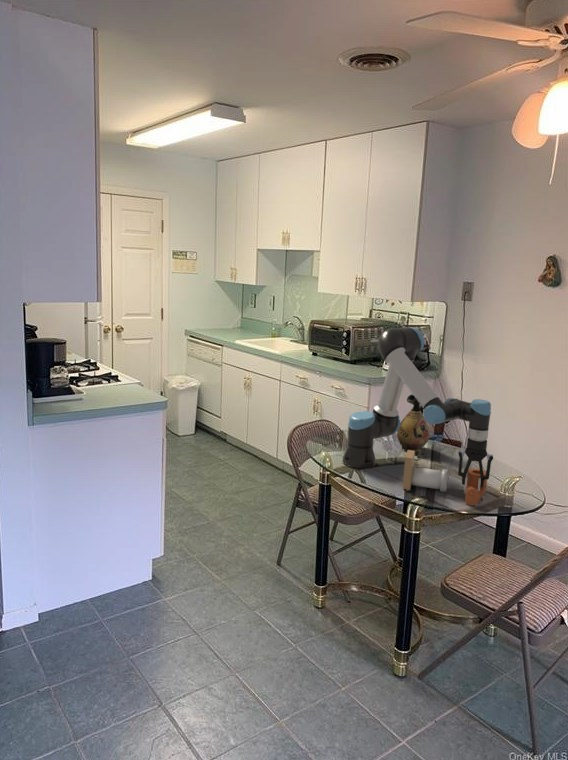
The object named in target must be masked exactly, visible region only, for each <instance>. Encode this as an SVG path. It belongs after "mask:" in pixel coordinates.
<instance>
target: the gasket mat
mask: <svg viewBox="0 0 568 760" xmlns="http://www.w3.org/2000/svg"><path fill="white" fill-rule="evenodd" d="M446 496H448V497H454V498H455V497H456V498H461V499H462V498H464V499H465V497H466V494H464V488H463V489H462V488H461V489H460V488H454V487H449V486H447V488H446ZM480 501H482V502H483V501H484V495H483V496H482V498H481V499H480Z"/></svg>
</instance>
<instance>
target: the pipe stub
mask: <svg viewBox="0 0 568 760" xmlns="http://www.w3.org/2000/svg"><path fill="white" fill-rule="evenodd" d="M415 453H416V452H415V451H412V450H408V451H406V455H405V458H404V468H403V469H404V471H403V482H402V490H403V489H406V490H405V491H409V490H410V491H411V487H412V486H415V487H422V488H428V489H434V490H435V489H436V490H439V492H441V493H447V487H448V478H449V476H448V475H449V469H445V468H442V469H441V470H438V469H432V468H425V467H416V466H414V465H415V455H416V454H415Z"/></svg>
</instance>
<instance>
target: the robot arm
mask: <svg viewBox="0 0 568 760" xmlns="http://www.w3.org/2000/svg"><path fill="white" fill-rule="evenodd" d="M377 345H378V346H377V347H378V351H379V354H380V355H381V356H380V357H382V359H383V360H384V362H385V363H386V364H389V365H388V367H387V371H386V375H385V378H384V382H383V385H382V390H381V393H380V396H379V400H378V403H376V404H375V405H374V407H373V410H372V411H368V410H367V411H366V410H363V411H361V410H360V411H356V412H354V413H351V414H350V416H349V419H348V424H347V425H348V426H347V444H346V448H345V451H344V453H343V456H342V463H343V462H344V463H346V464H347V465H350V466H352V467H351V468H353V467H356V468H355V469H370V468H373V467H375V465H376V462H377V461H376V460H377V459H376V455H375V451H374V440H377V439H379V438H380V439H381V438H385V437H389V436H392V435H395V434H397V432H398V429H399V427H400V423H401V419H400V415H399V411H398V409H397V407H398V404H399V401H400V397H401V395H402V391H403V387H404V385H405V386H406V387H407V389H408V390H409V391H410V392H411V393H412V394H411V395H414V396H415V398H416V399H417V400H418V402H419V403H420V406H422V407H423V408H424V410H423V416H424V419H425V420H426V422H427V424H430V425H439V424H442V423H445V422H452V421H455V420H461V421H465V422H468V432H467V437H468V438H467V441H466V447H465V449H464V450H459V451H458V458H459V459H458V472H457V475H458V476H459V477H462V479H461V485H463V490H464V494H466V487H467V472H468V469H470V467H471V464H472V462H476V463H477V462H478V467H479V468H478V469H480V476H481V478H479V480H478V491H480V487H482V488H483V484H484V480H485V479H487V481H488V480H489V479H490V474H491V473H490V472H491V468H492V467H491V465H492V461H493V460H494V455H493V454H490V453H488V451H487V447H488V438H489V427H490V420H491V415H492V414H491V413H492V412H491V411H492V404H491V402H490V401H488V400H487V399H480V398H479V399H473V400H471V402H468V401H465V400H462V399H459V398H451V397H450V398H446V400H444V401H442V399H441V398H440V397H439V396H438V394H437V393H436V392H435V390H434V389H433V388H432V387H431V385H430V384H429V382H428V381H427V380H426V378H425V377H424V376H423V375H422V374H421V372H420V371H419V370H418V368H417V367H416V366H415V365H414V363H413V362H414V361H415V358H416V355H417V354H418V353H420V352H421V351H422V350H423V349H424V346H425V337H424V336H423V333H422V331H420V330H419V329H418V328H417V327H411V326H405V327H393V328H387V329H386V330H384V331H383V332H382V333H381V334H380V335H379V338H378V341H377ZM464 456H466V457H467V458H468V459H467V462H466V464H465V467H464V470H463V469H462V468H463V457H464ZM485 458H486V460H487V461H486V462H487V463H486V469H485V471H486V475H484V474H483V470H484V468H483V460H484V459H485ZM344 463H343V464H344ZM347 465H346V466H347ZM350 466H349V467H350ZM462 471H463V472H462Z"/></svg>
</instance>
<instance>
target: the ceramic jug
mask: <svg viewBox="0 0 568 760" xmlns="http://www.w3.org/2000/svg"><path fill="white" fill-rule="evenodd" d="M406 402H407V403H409V404H410V405H413V407H412V408H411V409H410V411H409V412H408V413H406V415H405V416H404V418H402V420H401V421H400V427H399V429H398V431H397V432H396V436H397V440H398V443H399V444H400V446H401V449H402V450H403V449H404V450H403V451H404V452H405V451H406V452H407V451H408V450H412V451H415V453H418V452H420V451H421V450H422V448H423V447H424V446H425V445H426V444H427V443H428V441H429V439H430V438H429V437H430V430H429V426H428V424H429V423H428V422H426V420H425V419H424V415H423V412H424V408H423V407H422V406H421V404H420V403H419V402H418V400H417V399H416V398H415V396H414V395H413V394H410V395H408V396H407V398H406Z"/></svg>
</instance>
